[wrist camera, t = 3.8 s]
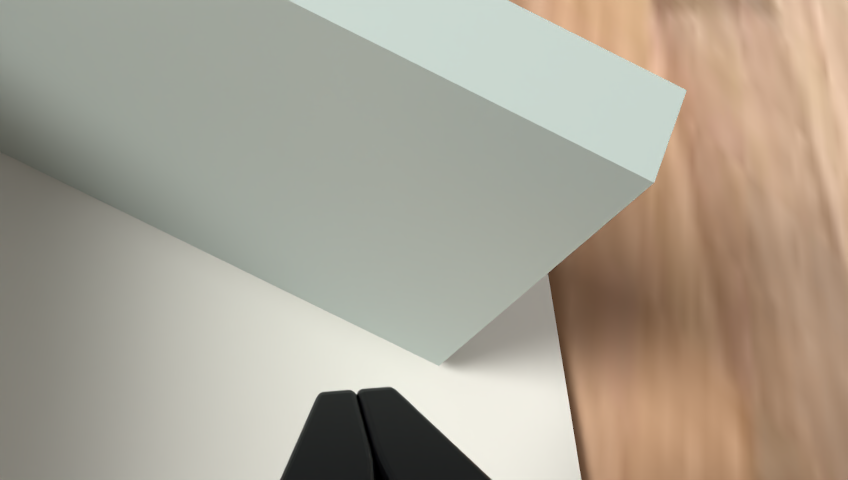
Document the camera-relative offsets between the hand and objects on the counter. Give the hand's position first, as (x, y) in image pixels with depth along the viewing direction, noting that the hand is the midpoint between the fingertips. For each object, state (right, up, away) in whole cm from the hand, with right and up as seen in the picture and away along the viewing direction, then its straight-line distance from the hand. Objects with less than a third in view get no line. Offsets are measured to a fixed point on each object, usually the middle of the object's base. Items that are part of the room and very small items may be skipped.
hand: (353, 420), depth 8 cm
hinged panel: (-6, +3, +8) cm, 11 cm away
